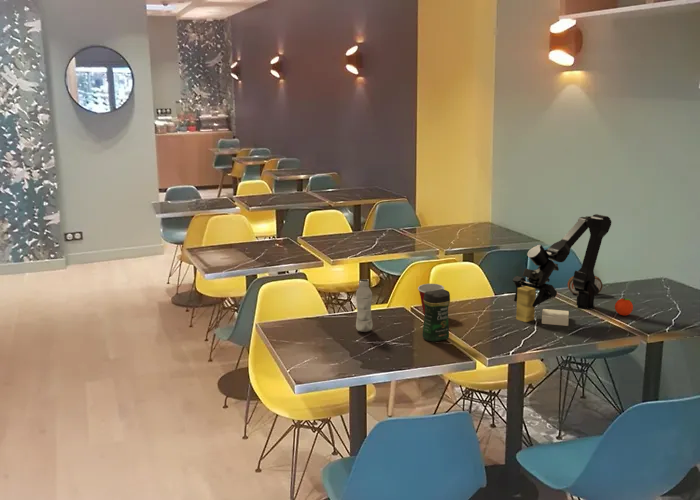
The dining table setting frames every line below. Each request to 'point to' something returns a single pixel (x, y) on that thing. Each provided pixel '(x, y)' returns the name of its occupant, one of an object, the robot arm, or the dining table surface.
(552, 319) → the plinth
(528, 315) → the pillar block
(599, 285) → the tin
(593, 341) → the dining table surface
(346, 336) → the dining table surface
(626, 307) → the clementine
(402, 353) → the dining table surface
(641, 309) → the dining table surface
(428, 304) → the coffee jar
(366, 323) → the plastic bottle
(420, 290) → the plastic cup
